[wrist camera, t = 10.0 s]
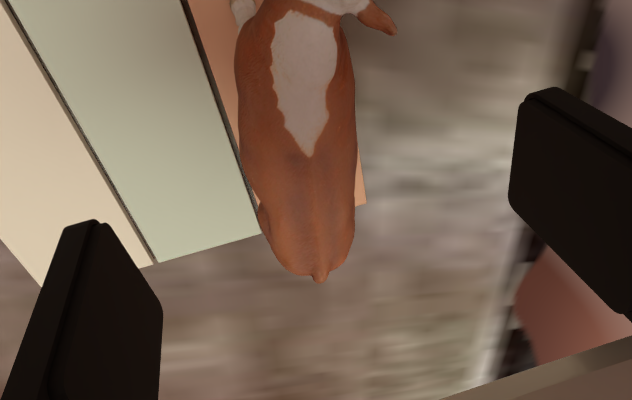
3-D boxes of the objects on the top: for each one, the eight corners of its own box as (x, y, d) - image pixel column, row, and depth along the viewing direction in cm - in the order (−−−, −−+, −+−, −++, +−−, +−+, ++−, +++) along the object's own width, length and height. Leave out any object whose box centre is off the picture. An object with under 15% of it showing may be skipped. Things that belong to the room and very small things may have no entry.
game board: (-227, -46, 14) (-237, -44, 13) (307, -169, 15) (310, -171, 14) (49, 289, 23) (47, 294, 23) (364, 199, 24) (366, 203, 24)
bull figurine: (340, -117, 15) (439, -132, 9) (323, 195, 23) (370, 313, 16) (215, -124, 15) (222, -145, 8) (240, 203, 22) (255, 329, 16)
